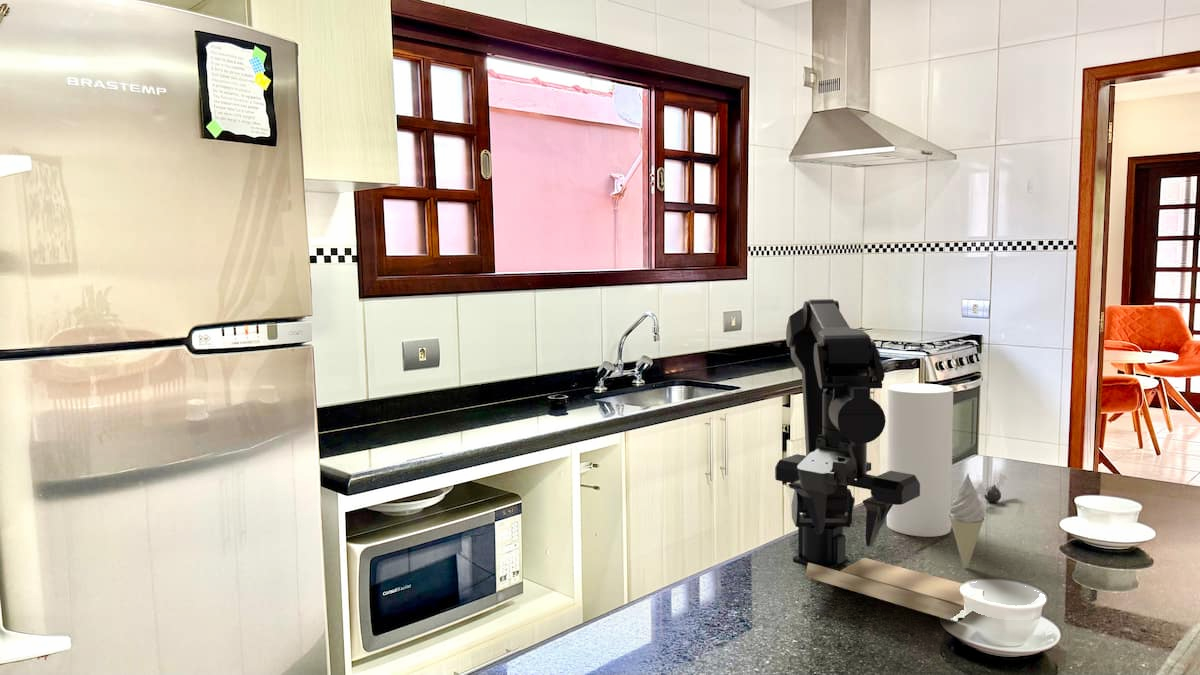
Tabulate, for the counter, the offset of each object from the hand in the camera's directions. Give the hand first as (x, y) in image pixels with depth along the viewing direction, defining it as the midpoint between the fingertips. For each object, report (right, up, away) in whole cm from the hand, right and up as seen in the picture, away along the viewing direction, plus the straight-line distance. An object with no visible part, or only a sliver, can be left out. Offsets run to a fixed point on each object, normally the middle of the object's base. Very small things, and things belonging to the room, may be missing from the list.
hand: (844, 539), depth 112 cm
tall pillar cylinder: (+23, -6, +34) cm, 42 cm away
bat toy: (+43, -5, +47) cm, 64 cm away
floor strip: (+11, -9, +6) cm, 16 cm away
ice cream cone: (+23, -8, +15) cm, 28 cm away
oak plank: (+5, -8, 0) cm, 9 cm away
